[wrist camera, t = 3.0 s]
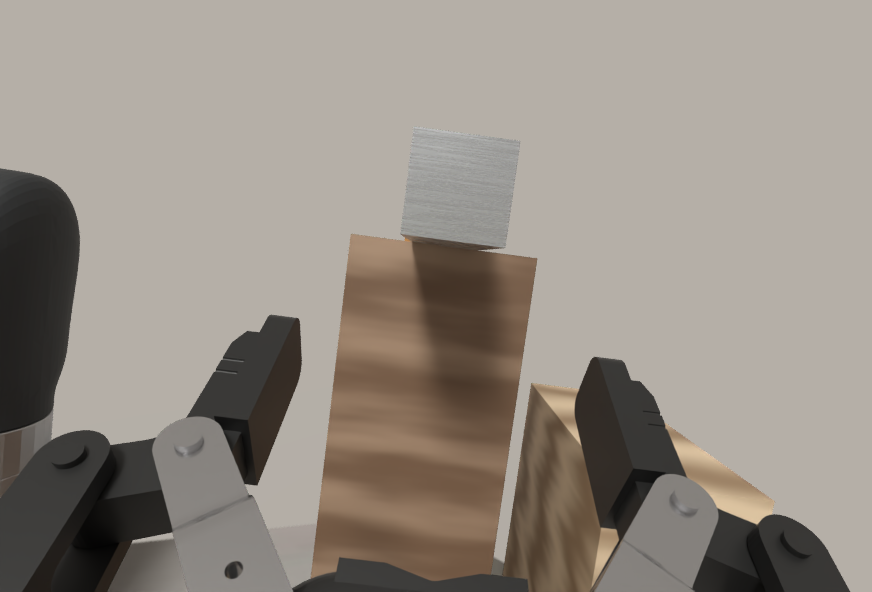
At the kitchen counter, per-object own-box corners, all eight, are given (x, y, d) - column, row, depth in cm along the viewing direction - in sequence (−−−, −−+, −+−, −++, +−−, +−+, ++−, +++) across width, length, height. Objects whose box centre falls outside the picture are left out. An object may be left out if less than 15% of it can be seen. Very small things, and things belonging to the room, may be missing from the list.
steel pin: (535, 252, 17) (559, 82, 16) (370, 230, 16) (390, 58, 16) (470, 253, 42) (479, 188, 42) (406, 245, 42) (414, 179, 42)
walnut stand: (457, 801, 29) (537, 258, 27) (286, 783, 29) (350, 233, 26) (447, 608, 45) (496, 257, 43) (337, 595, 45) (380, 241, 42)
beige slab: (694, 912, 25) (774, 501, 24) (540, 896, 25) (608, 481, 24) (585, 640, 43) (625, 394, 42) (494, 630, 43) (531, 383, 41)
